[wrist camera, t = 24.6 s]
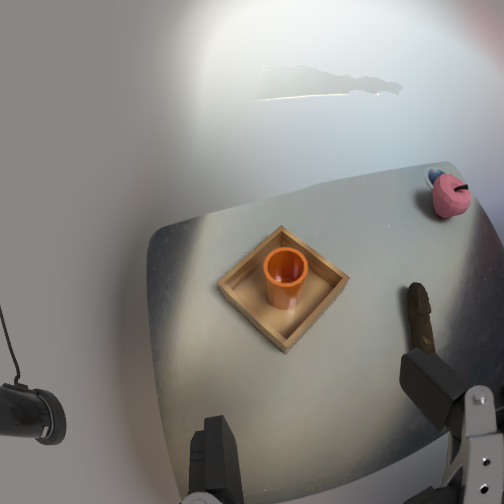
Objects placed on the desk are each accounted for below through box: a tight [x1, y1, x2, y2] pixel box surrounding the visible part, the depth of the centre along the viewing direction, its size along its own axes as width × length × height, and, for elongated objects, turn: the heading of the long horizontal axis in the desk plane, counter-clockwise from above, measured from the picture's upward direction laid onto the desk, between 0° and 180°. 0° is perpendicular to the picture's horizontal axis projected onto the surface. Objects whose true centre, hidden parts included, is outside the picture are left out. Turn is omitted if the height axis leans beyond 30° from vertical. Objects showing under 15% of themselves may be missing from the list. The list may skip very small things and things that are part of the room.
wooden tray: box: [217, 225, 350, 354], centre depth 41 cm, size 14×14×5 cm
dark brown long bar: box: [408, 282, 438, 356], centre depth 34 cm, size 19×4×5 cm, turn 177°
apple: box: [432, 174, 471, 218], centre depth 44 cm, size 10×9×10 cm
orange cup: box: [264, 247, 308, 310], centre depth 38 cm, size 6×6×9 cm
